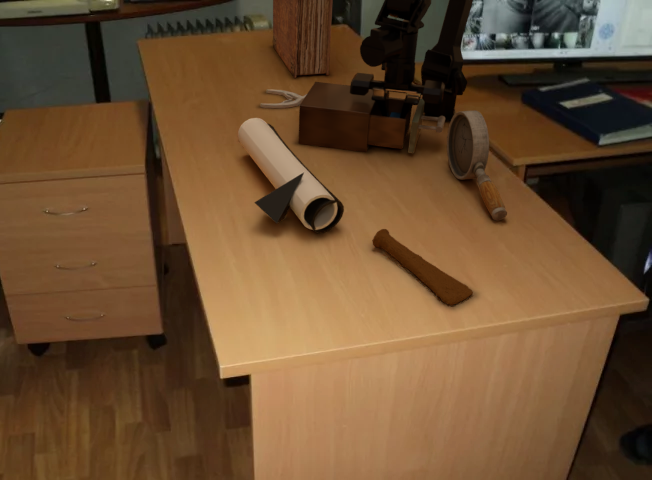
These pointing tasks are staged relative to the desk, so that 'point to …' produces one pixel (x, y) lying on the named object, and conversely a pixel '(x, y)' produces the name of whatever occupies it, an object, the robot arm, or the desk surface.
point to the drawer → (399, 126)
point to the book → (303, 35)
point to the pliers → (287, 102)
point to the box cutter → (395, 115)
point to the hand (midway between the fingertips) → (393, 127)
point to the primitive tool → (423, 270)
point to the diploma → (288, 180)
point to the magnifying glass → (473, 157)
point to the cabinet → (335, 117)
